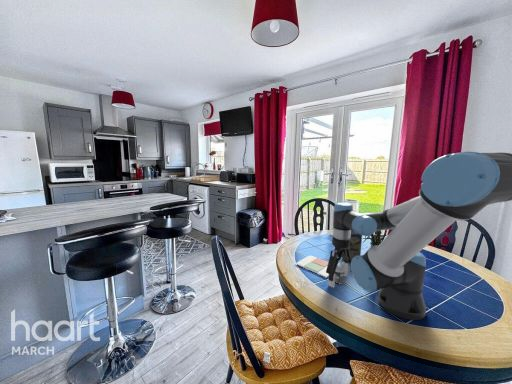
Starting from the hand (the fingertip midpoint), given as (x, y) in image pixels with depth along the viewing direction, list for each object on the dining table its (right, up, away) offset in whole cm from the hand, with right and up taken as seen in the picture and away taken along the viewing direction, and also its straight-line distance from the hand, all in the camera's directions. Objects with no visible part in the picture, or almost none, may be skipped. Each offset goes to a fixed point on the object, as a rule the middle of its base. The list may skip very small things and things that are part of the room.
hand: (338, 280), depth 97 cm
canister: (+15, +3, +20) cm, 25 cm away
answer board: (-6, +2, +13) cm, 15 cm away
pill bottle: (0, -1, 0) cm, 1 cm away
